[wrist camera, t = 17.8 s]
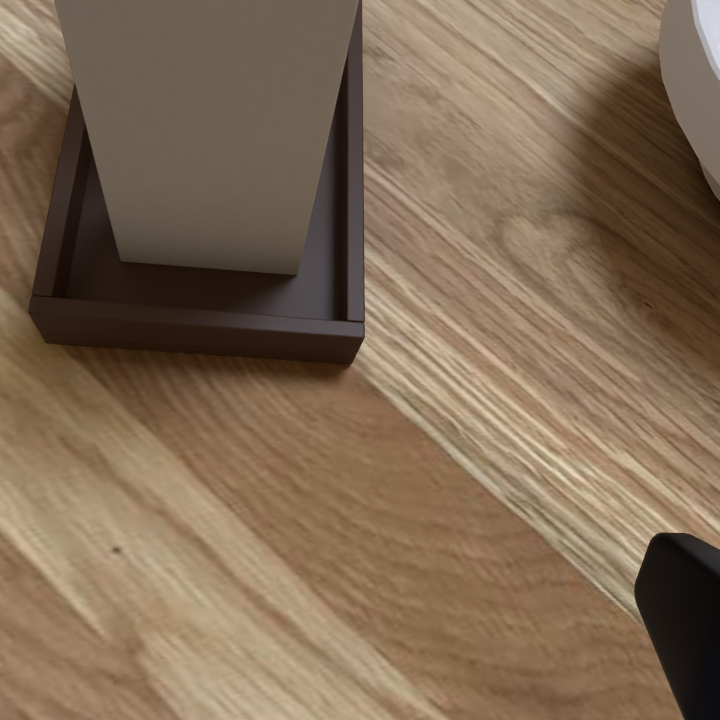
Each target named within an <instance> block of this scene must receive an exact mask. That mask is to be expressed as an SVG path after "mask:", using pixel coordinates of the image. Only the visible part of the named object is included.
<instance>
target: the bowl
mask: <svg viewBox="0 0 720 720" xmlns="http://www.w3.org/2000/svg"><path fill="white" fill-rule="evenodd" d="M658 49H659V57H660V65H661V73H662V80H663V83H664V86H665V89H666V92H667V94H668V97H669V100H670V103H671V106H672V109H673V112H674V115H675V117H676V119H677V121H678V123H679V125H680V126H681V128H682V130H683V132H684V134H685V135H686V137H687V139H688V141H689V143H690V144H691V146H692V148H693V150H694V152H695V153H696V155H697V157H698V158H699V161H700V164H701V167H702V170H703V173H704V176H705V178H706V180H707V182H708V184H709V185H710V187H711V189H712V191H713V193H714V194H715V196H716V197H717V199H718V200H719V201H720V0H668V1H667V3H666V6H665V8H664V11H663V14H662V19H661V26H660V34H659V41H658Z"/></svg>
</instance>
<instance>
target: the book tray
mask: <svg viewBox="0 0 720 720" xmlns="http://www.w3.org/2000/svg"><path fill="white" fill-rule="evenodd" d="M28 313H29V315H30V317H31V318H32V320H33V322H34V324H35V325H36V327H37V329H38V330H39V332H40V334H41V336H42V338H43V339H44V341H45V342H46V343H54V344H68V345H83V346H97V347H112V348H126V349H140V350H155V351H169V352H184V353H198V354H212V355H227V356H241V357H256V358H270V359H285V360H299V361H313V362H328V363H342V364H352V363H353V360H354V358H355V356H356V354H357V352H358V350H359V348H360V346H361V344H362V342H363V340H364V338H365V325H364V321H365V303H364V185H363V66H362V0H359V2H358V6H357V11H356V15H355V20H354V24H353V29H352V33H351V38H350V42H349V47H348V51H347V56H346V60H345V65H344V69H343V74H342V78H341V83H340V87H339V92H338V96H337V101H336V105H335V110H334V114H333V119H332V123H331V128H330V132H329V137H328V141H327V146H326V150H325V155H324V159H323V164H322V168H321V173H320V177H319V181H318V186H317V190H316V195H315V199H314V204H313V208H312V213H311V217H310V222H309V226H308V231H307V235H306V240H305V244H304V249H303V253H302V258H301V262H300V267H299V271H298V275H287V274H275V273H262V272H249V271H237V270H224V269H211V268H199V267H186V266H173V265H160V264H148V263H135V262H122V261H121V260H120V257H119V253H118V249H117V245H116V241H115V237H114V233H113V229H112V225H111V221H110V218H109V214H108V210H107V206H106V202H105V198H104V194H103V190H102V186H101V182H100V178H99V174H98V171H97V167H96V163H95V159H94V155H93V151H92V147H91V143H90V139H89V135H88V131H87V127H86V124H85V120H84V116H83V112H82V108H81V104H80V100H79V96H78V92H77V88H76V84H74V89H73V94H72V99H71V104H70V109H69V114H68V118H67V123H66V128H65V133H64V138H63V143H62V148H61V153H60V157H59V162H58V167H57V172H56V177H55V182H54V187H53V192H52V196H51V201H50V206H49V211H48V216H47V221H46V226H45V231H44V235H43V240H42V245H41V250H40V255H39V260H38V265H37V270H36V274H35V279H34V284H33V289H32V297H31V299H30V304H29V309H28Z"/></svg>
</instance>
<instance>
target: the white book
mask: <svg viewBox="0 0 720 720" xmlns="http://www.w3.org/2000/svg"><path fill="white" fill-rule="evenodd" d="M54 2H55V6H56V10H57V14H58V18H59V22H60V26H61V30H62V33H63V37H64V41H65V45H66V49H67V53H68V57H69V61H70V65H71V69H72V73H73V77H74V80H75V84H76V88H77V92H78V96H79V100H80V104H81V108H82V112H83V116H84V120H85V124H86V127H87V131H88V135H89V139H90V143H91V147H92V151H93V155H94V159H95V163H96V167H97V171H98V174H99V178H100V182H101V186H102V190H103V194H104V198H105V202H106V206H107V210H108V214H109V218H110V221H111V225H112V229H113V233H114V237H115V241H116V245H117V249H118V253H119V257H120V260H121V261H122V262H135V263H148V264H160V265H173V266H186V267H199V268H211V269H224V270H237V271H249V272H262V273H275V274H287V275H298V271H299V267H300V262H301V258H302V253H303V249H304V244H305V240H306V235H307V231H308V226H309V222H310V217H311V213H312V208H313V204H314V199H315V195H316V190H317V186H318V181H319V177H320V173H321V168H322V164H323V159H324V155H325V150H326V146H327V141H328V137H329V132H330V128H331V123H332V119H333V114H334V110H335V105H336V101H337V96H338V92H339V87H340V83H341V78H342V74H343V69H344V65H345V60H346V56H347V51H348V47H349V42H350V38H351V33H352V29H353V24H354V20H355V15H356V11H357V6H358V2H359V0H54Z"/></svg>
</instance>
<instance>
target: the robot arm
mask: <svg viewBox="0 0 720 720" xmlns="http://www.w3.org/2000/svg"><path fill="white" fill-rule="evenodd" d="M634 592H635V600H636V604H637V607H638V609H639V611H640V614H641V616H642V619H643V621H644V624H645V626H646V629H647V631H648V633H649V636H650V638H651V641H652V643H653V646H654V648H655V651H656V653H657V655H658V658H659V660H660V663H661V665H662V668H663V670H664V673H665V675H666V677H667V680H668V682H669V685H670V687H671V690H672V692H673V695H674V697H675V699H676V702H677V704H678V706H679V708H680V711H681V713H682V715H683V718H684V720H720V550H719V549H717V548H715V547H714V546H712V545H710V544H708V543H706V542H704V541H702V540H700V539H698V538H696V537H695V536H692V535H690V534H686V533H659V534H656V535H655V536H654V537H653V538H652V539H651V541H650V543H649V546H648V548H647V551H646V554H645V557H644V559H643V562H642V565H641V568H640V571H639V573H638V576H637V579H636V582H635V589H634Z"/></svg>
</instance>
